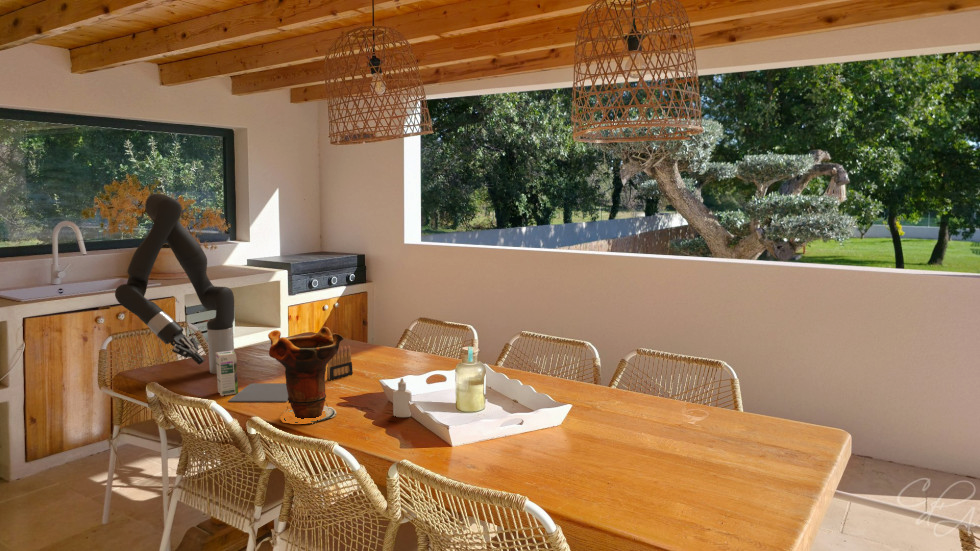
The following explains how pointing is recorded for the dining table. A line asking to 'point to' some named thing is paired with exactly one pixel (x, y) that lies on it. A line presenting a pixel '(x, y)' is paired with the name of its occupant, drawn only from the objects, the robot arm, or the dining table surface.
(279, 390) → the mat
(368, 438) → the dining table surface
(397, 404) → the eye dropper bottle
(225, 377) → the syrup box
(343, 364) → the ammunition clip
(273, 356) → the decorative vase
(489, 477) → the dining table surface
